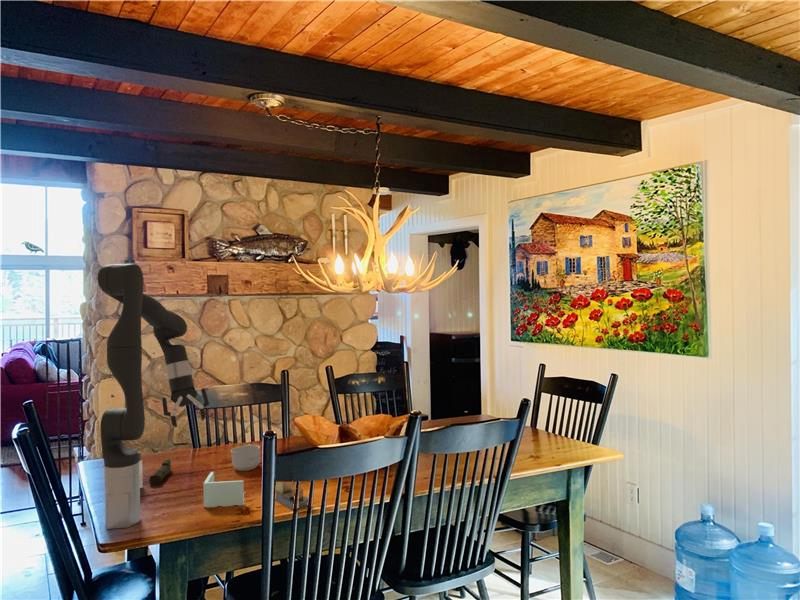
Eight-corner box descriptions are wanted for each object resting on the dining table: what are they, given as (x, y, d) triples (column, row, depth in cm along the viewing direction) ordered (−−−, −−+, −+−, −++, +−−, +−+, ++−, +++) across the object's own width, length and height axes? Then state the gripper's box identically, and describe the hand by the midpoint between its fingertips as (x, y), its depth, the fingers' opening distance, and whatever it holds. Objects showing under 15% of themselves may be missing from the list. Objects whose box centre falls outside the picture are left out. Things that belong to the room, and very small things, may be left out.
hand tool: (160, 486, 201) (160, 472, 201) (149, 486, 201) (148, 473, 201) (177, 470, 220) (176, 457, 220) (166, 470, 220) (166, 458, 220)
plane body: (271, 498, 187) (271, 482, 186) (288, 493, 190) (288, 478, 190) (292, 510, 176) (292, 493, 176) (309, 505, 179) (309, 489, 179)
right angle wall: (243, 505, 181) (243, 481, 181) (203, 507, 179) (203, 483, 179) (248, 492, 193) (248, 469, 193) (211, 494, 191) (210, 471, 191)
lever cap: (275, 491, 187) (275, 463, 187) (285, 488, 189) (284, 461, 189) (282, 495, 183) (282, 466, 183) (292, 492, 185) (292, 464, 185)
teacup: (253, 473, 213) (253, 452, 213) (226, 472, 215) (225, 451, 215) (268, 462, 227) (267, 442, 227) (242, 462, 229) (241, 441, 229)
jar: (144, 483, 204) (144, 449, 204) (140, 491, 196) (139, 455, 196) (117, 486, 201) (116, 451, 201) (111, 493, 193) (110, 458, 193)
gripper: (157, 380, 188) (167, 429, 186) (202, 370, 194) (212, 418, 192) (157, 381, 194) (166, 429, 193) (200, 372, 200) (210, 418, 199)
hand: (189, 423), depth 192 cm, fingers open, 8 cm apart
